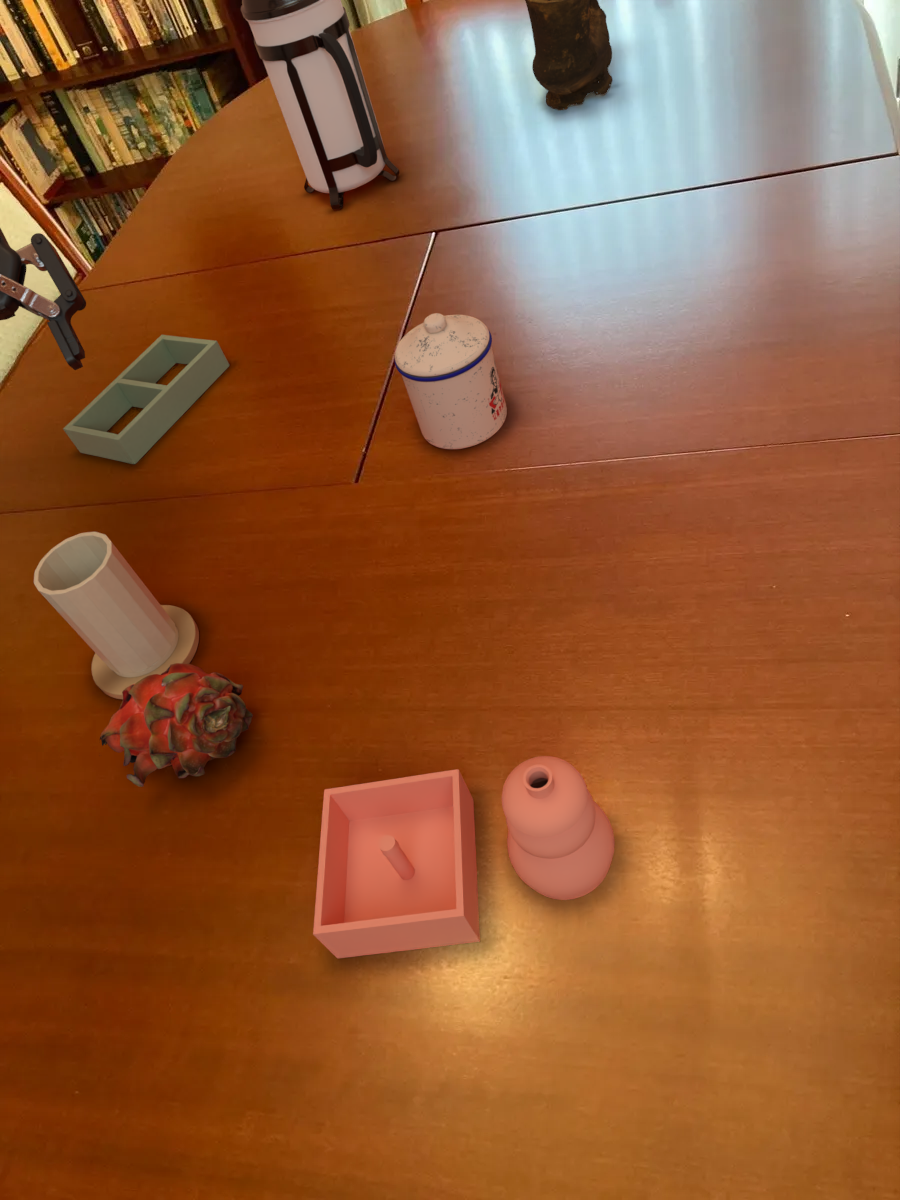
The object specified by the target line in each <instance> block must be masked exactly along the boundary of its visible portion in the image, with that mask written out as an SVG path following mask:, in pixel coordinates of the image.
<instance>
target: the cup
mask: <svg viewBox="0 0 900 1200" xmlns="http://www.w3.org/2000/svg"><path fill="white" fill-rule="evenodd" d="M33 584H34V586H35V588H36V589H37V591H38V592H39V593H40V594H41V595H42V597H44V598H45V600H46V601H47V602H48V603H49V604H50V606H52V607H53V608H54V609H55V611H56V612H57V613H58V614H59V615H60V616H61V617H62V618H63V619H64V621H65V622H66V623H68V625H69V626H70V627H71V628H72V629H73V630H74V631H75V632H76V633H77V635H78V636H79V637H80V638H81V639H82V640H83V641H84V642H85V643H86V645H87V646H88V647H89V648H90V649H91V650H92V651H93V652H94V654H95V653H96V654H97V655H98V656H99V657H100V658H101V659H102V661H103V662H104V663H105V664H106V665H107V666H108V667H109V668H110V669H111V670H112V671H113V672H114V673H116V674H117V675H119V676H122V677H127V678H133V677H139V676H142V675H145V674H147V673H150V672H152V671H153V670H155V669H157V668H158V667H159V666H161V665H162V664H163V663H164V662H165V661H166V660H167V659H168V658H169V657H170V656H171V654H172V653H173V651H174V650H175V648H176V645H177V642H178V638H179V633H178V629H177V626H176V625H175V623H174V622H173V621H172V619H171V618H170V617H169V615H168V614H167V613H166V612H165V610H164V609H163V608H162V606H161V605H162V604H160V603H159V601H158V600H157V599H156V597H155V596H154V594H152V592H151V590H149V588H148V587H147V586H146V585H145V583H144V582H143V580H142V579H141V577H139V575H138V574H137V573H136V572H135V570H134V569H133V568H132V566H131V565H130V564H129V563H128V561H127V559H125V557H124V556H123V555H122V553H121V552H120V550H118V548H117V547H116V546H115V544H114V543H113V542H112V540H111V539H110V538H109V537H108V536H107V534H105V533H101V532H98V531H87V532H81V533H78V534H75V535H73V536H70V537H67V538H65V539H64V540H62V541H61V542H59V543H58V544H56V545H55V546H53V547H52V548H51V549H50V550H49V551H48V552H47V553H45V554H44V556H43V557H42V558H41V559H40V561H39V562H38V565H37V566H36V568H35V569H34V573H33Z"/></svg>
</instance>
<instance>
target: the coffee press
mask: <svg viewBox="0 0 900 1200" xmlns="http://www.w3.org/2000/svg"><path fill="white" fill-rule="evenodd" d="M241 4H242V5H241V6H240V12H241V15H242V17H243V19H245V21H247V23H248V25H249V27H250V30H251V32H252V35H253V43H254V46H255V48H256V51H257V54H258V57H259V59H260V60H262V63H263V65H264V68H265V70H266V71H265V72H266V73H267V77H268V79H269V82H270V84H271V87H272V89H273V92H274V94H275V98H276V100H277V103H278V107H279V109H280V111H281V113H282V116H283V119H284V122H285V124H286V127H287V129H288V132H289V136H290V138H291V140H292V141H291V142H292V143H293V145H294V146H293V147H294V149H295V151H296V153H297V156H298V159H299V162H300V165H301V167H302V170H303V172H304V175H305V181H304V185H303V186H304V187H303V189H304V191H305V192H306V193H308V194H313V193H314V192H315V191H317V192H320V193H324V194H328V195H329V205H330V208H331V210H333V211H336V210H343V209H344V195H345V192H348V191H352V190H355V189H357V188H359V187H362V186H364V185H366V184H367V183H369V182H371V181H372V180H374V179H375V178H376V177H378V176H380V177H383V178H385V179H386V180H388V181H389V182H396V181H397V180H398V178H399V176H400V169H399V168H398V167H397V166H396V165H395V164H394V163H393V162H392V161H391V160H390V159H389V157H388V155H387V152H386V148H385V145H384V142H383V138H382V135H381V131H380V127H379V123H378V121H377V117H376V113H375V111H374V108H373V104H372V100H371V97H370V93H369V90H368V87H367V83H366V80H365V76H364V74H363V70H362V67H361V63H360V60H359V57H358V53H357V51H356V47H355V43H354V40H353V37H352V33H351V30H350V25H351V24H350V21H349V17H348V13H347V11H346V8H345V7H344V6H343V3H342V0H241ZM386 166H387V168H388V169H390V170H391V172H393V173H394V175H392V174H391V173H390V172H388V171H386V170H383V169H384V168H385V167H386Z"/></svg>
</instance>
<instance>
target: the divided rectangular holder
mask: <svg viewBox="0 0 900 1200" xmlns="http://www.w3.org/2000/svg"><path fill="white" fill-rule="evenodd" d="M176 364H180V365H185V367H184V368H182V370H181V371H180V372H179V373H178V374H176V376H175V377H174V378H173V379H172V380H171V381H170V382H169V383H168V384H167V385H166V384H161V383H158V381H159V380H161V378H163V377H164V376H165V375H166V374H167V373H168V372H169V371H170V370H171V369H172V368H173V367H174V366H175V365H176ZM230 366H231V365H230V363H229V361H228V359H227V358H226V356H225V353H224V351H223V350H222V348H221V345H220V343H219V342H218V340H216V339H215V340H213V339H205V338H194V337H186V336H177V335H168V334H161V335H160V336H159V337H157V338H156V339H155V340H154V342H152V343H151V344H150V345H149V346H148V347H147V348H146V349H145V350H144V351H142V353H141V354H140V355H139V356H138V357H137V358H136V359H134V360H133V361H132V362H131V363H130V364H129V365H128V366H127V367H126V368H125V369H124V370H123V371H122V372H121V373H119V375H118V376H116V378H115V379H113V381H112V382H110V383H109V385H107V386H106V387H105V388H104V389H103V390H102V391H100V393H99V394H98V395H97V396H96V397H95V398H94V399H93V400H91V401H90V403H88V405H86V406H85V407H84V408H83V409H82V410H81V411H80V412H79V413H78V414H77V415H76V416H74V418H72V420H70V422H68V423H67V424H66V425H65V426H64V427H63V428H62V430H63V431H64V433H65V434H66V435H67V437H68V438H69V439H70V441H71V442H72V443H73V445H74V446H75V448H76V449H77V450H78V452H79V453H80V454H85V455H89V456H94V457H99V458H103V459H108V460H112V461H117V462H122V463H125V464H126V463H127V464H130V465H136V464H137V463H138V462H139V461H140V460H141V459H142V458H143V457H144V456H145V455H146V454H147V453H148V452H149V451H150V450H151V448H153V446H154V445H155V444H157V442H158V441H159V440H160V439H162V437H163V436H164V435H165V434H166V433H167V432H168V431H169V430H170V429H171V428H172V427H173V425H175V424H176V423H177V421H178V420H179V419H181V418H182V417H183V415H184V414H185V413H186V412H187V411H188V410H189V409H190V408H191V407H192V406H193V405H194V404H195V403H196V402H197V401H198V400H199V398H201V396H202V395H203V394H204V393H205V392H206V391H207V390H208V389H209V388H210V387H211V386H212V385H213V384H214V383H215V382H216V381H217V380H218V379H219V378H220V377H221V375H223V374H224V372H225V371H226V370H228V369H229V367H230ZM133 407H134V408H138V409H142V410H141V411H140V412H139V413H138V414H137V415H136V416H135V417H133V419H132V420H131V421H130V422H128V424H127V425H126V426H125V427H123V429H122V430H121V431H120V432H119V433H118V434H117V433H114V432H109V430H110V429H111V428H113V426H114V425H115V424H116V423H117V422H119V420H120V419H121V418H122V417H123V416H124V415H125V414H126V413H127V412H128V411H129V410H130V409H131V408H133Z"/></svg>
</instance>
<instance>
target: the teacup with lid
mask: <svg viewBox="0 0 900 1200" xmlns="http://www.w3.org/2000/svg"><path fill="white" fill-rule="evenodd" d="M492 336H493V335H492V333H491V331H490V329H489V328H488V326H487V325H486V324H485V323H484V322H483V321H482V320H481V319H479V318H476V317H474V316H472V315H471V316H470V315H467V314H447V315H444V314H442V313H439V312H435V313H430V314H429V315H428V316H426V317H425V318H424V320H423V322H422V323H420V324H418V325H416V326H415V327H413V328H412V329H410V330H409V331H408V332H407V333H405V334H404V336H402V338H401V339H400V341H399V342H398V343H397V346H396V348H395V352H394V366H395V369H396V370H397V372H398V373H399V374H400V375H401V378H402V381H403V383H404V386H405V389H406V393H407V395H408V398H409V401H410V403H411V407H412V409H413V412H414V415H415V418H416V420H417V424H418V426H419V429H420V432H421V435H422V437H423V438H424V439H425V441H427V442H428V443H429V444H430V445H432V446H434V447H436V448H439V449H442V450H461V449H467V448H470V447H474V446H476V445H480V444H481V443H483V442H485V441H487V440H489V439H490V438H492V437H493V436H495V434H496V433H497V432H498V431H499V430H500V429H501V428H502V427H503V425H504V424H505V421H506V419H507V415H508V408H507V403H506V399H505V395H504V391H503V387H502V384H501V380H500V376H499V371H498V368H497V363H496V360H495V355H494V351H493V347H492V342H493V337H492Z"/></svg>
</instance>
